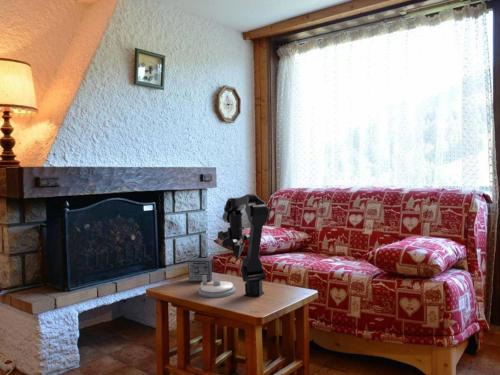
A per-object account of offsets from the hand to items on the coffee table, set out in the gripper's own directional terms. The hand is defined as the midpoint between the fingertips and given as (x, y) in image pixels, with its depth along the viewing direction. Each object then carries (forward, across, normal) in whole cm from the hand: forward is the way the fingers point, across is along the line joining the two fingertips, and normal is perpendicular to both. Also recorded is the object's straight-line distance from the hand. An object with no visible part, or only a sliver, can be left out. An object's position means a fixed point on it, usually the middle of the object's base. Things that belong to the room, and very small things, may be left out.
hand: (237, 258), depth 195 cm
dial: (+10, +14, -4) cm, 18 cm away
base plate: (+12, +14, -4) cm, 19 cm away
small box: (+12, -2, -21) cm, 24 cm away
